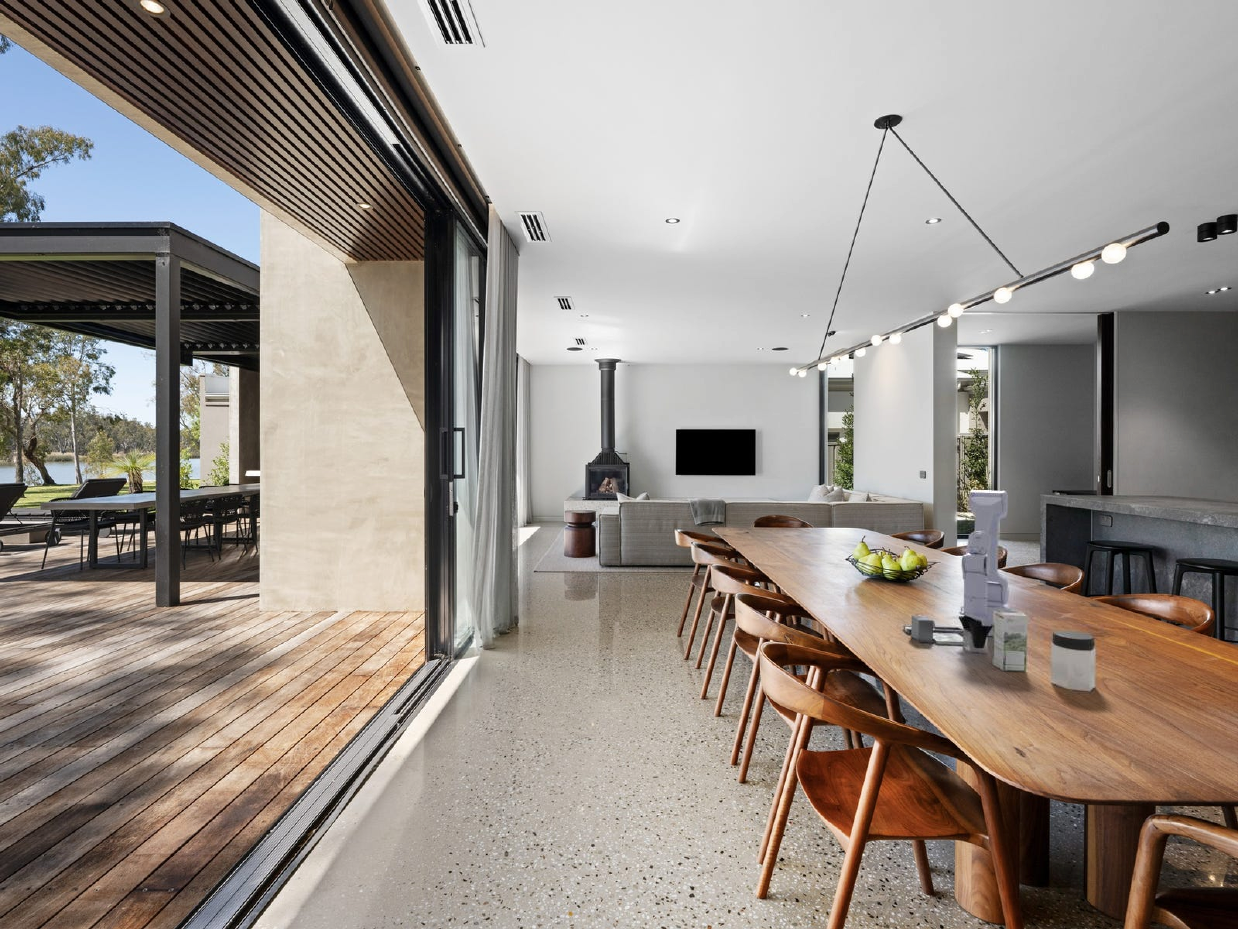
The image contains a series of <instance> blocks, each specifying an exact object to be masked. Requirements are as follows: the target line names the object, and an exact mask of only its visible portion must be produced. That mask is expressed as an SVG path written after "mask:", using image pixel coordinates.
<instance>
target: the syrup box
mask: <svg viewBox="0 0 1238 929" xmlns="http://www.w3.org/2000/svg"><path fill="white" fill-rule="evenodd" d="M1028 619H1029V616H1027V614H1025V613H1023V611H1020V610H1016V609H1015V610H1014V609H1011V610H994V612H993V636H992V658H991V659H992V660H991V661H992V664H994V665H993V666H995V668H996V667H997V668H998V667H999V668H1000V669H999V668H998V669H999V670H1001V671H1003V672H1020V673H1021V672H1025V673H1026V672H1027V659H1028V658H1027V657H1028V656H1027V654H1028V653H1027V652H1028Z"/></svg>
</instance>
